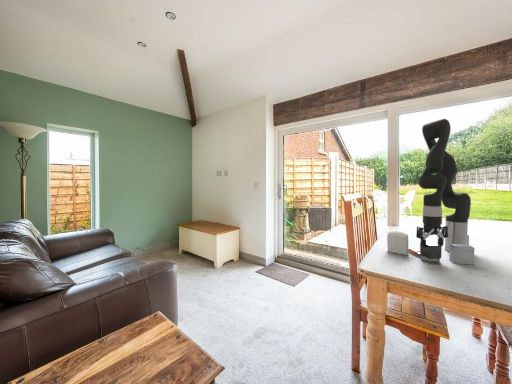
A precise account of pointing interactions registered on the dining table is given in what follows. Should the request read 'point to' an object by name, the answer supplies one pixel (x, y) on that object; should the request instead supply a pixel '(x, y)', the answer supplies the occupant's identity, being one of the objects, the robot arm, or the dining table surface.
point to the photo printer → (397, 242)
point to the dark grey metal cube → (431, 250)
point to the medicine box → (461, 254)
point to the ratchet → (424, 259)
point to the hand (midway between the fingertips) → (431, 246)
